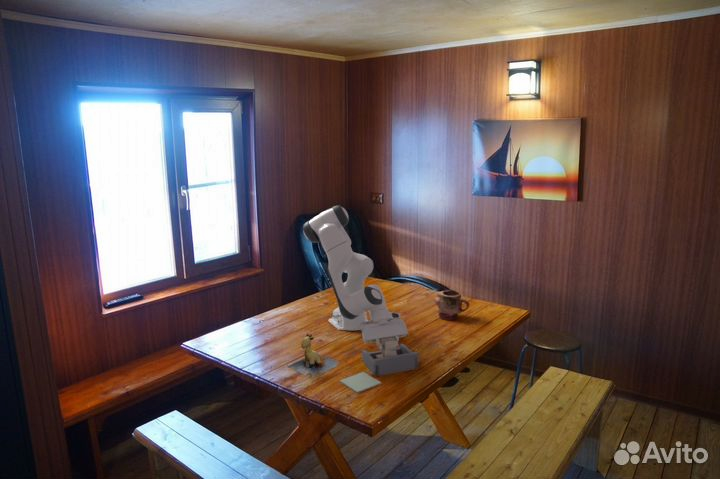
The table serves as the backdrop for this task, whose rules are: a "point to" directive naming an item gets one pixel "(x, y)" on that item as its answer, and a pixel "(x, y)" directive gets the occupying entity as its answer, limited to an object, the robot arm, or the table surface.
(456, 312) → the brown ceramic mug
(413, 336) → the table surface
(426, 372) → the table surface
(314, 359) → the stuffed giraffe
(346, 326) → the robot arm
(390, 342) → the block
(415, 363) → the nook
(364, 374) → the mat
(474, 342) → the table surface
